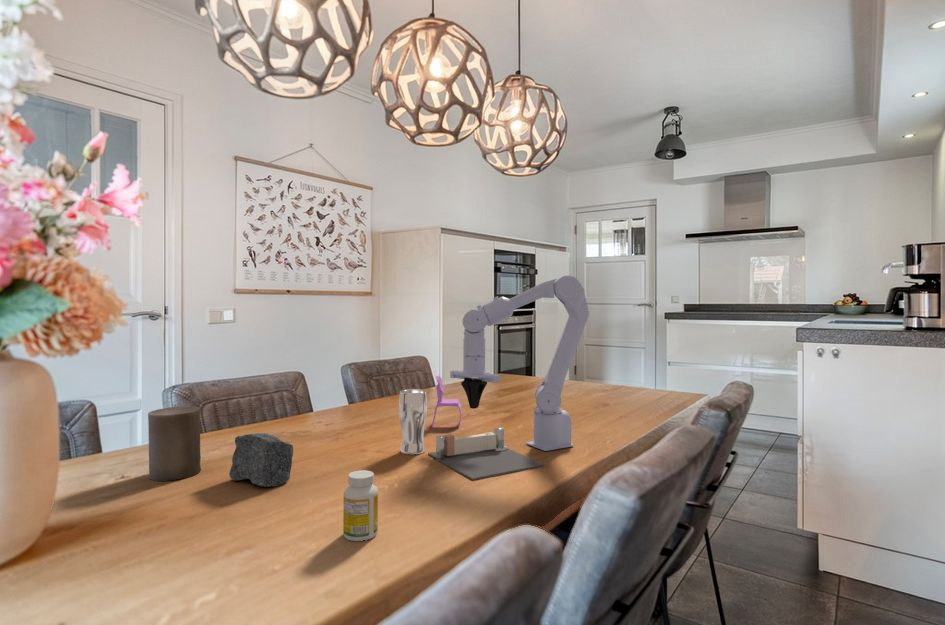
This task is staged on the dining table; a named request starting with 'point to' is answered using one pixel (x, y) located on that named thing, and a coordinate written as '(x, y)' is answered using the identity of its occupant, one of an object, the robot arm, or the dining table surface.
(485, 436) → the gate
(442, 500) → the dining table surface
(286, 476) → the stone
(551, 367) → the robot arm
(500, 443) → the post
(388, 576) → the dining table surface
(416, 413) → the beer glass
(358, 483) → the supplement bottle
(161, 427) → the pillar candle
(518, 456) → the mat
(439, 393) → the toy chair
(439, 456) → the post
